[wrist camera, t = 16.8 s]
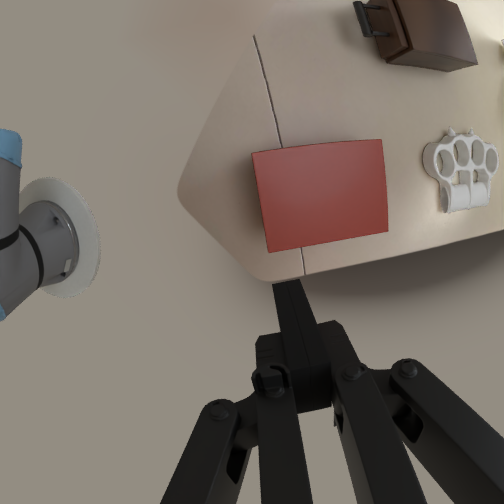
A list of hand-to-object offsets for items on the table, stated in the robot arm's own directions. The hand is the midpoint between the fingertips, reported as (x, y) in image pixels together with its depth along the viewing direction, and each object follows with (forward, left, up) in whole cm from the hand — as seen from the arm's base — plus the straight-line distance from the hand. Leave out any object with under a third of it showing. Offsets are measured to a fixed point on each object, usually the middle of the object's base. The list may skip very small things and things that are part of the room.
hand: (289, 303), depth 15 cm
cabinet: (+22, +33, -27) cm, 48 cm away
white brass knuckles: (+34, +12, -27) cm, 45 cm away
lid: (+6, +4, -19) cm, 20 cm away
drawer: (+18, +32, -26) cm, 45 cm away
